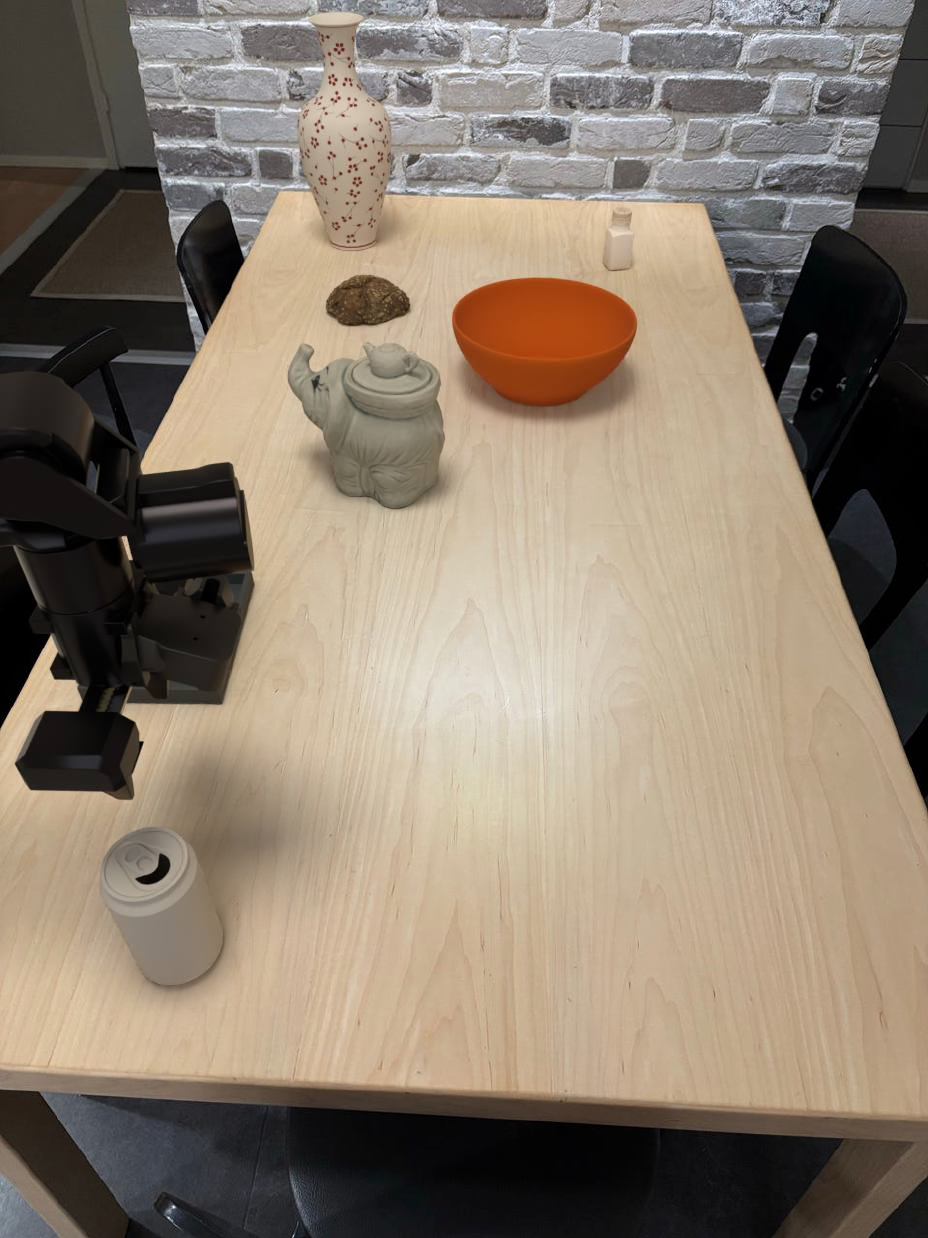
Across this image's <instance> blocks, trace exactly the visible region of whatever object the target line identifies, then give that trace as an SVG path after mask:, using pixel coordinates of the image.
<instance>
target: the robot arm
mask: <svg viewBox="0 0 928 1238" xmlns="http://www.w3.org/2000/svg"><path fill="white" fill-rule="evenodd" d="M142 454H143V453H142V451H141V449H140V448H139V447H137V446H136V445H135V444H133V443H132V442H131V441H129V440H128V439H127V438H125V437H124V436H123V435H121V434H120V433H119V432H118V431H116V430H115V429H113V428H112V427H111V426H110V425H108V424H107V423H106V422H104V421H103V420H102V419H100V418H99V417H97V416H96V415H95V414H94V413H92V411H91V407H90V406H89V405H88V404H87V402H86V401H85V400H84V398H83V397H82V396H81V394H80V393H78V392H77V391H76V390H74V389H73V388H72V387H70V386H69V385H68V384H66V383H65V381H64V380H63V379H62V378H61V377H58V376H55V375H53V374H50V373H46V372H41V371H33V370H29V371H18V372H17V371H16V372H8V373H2V374H1V373H0V548H2V547H10V546H11V547H13V550H14V553H15V555H16V557H17V559H18V562H19V564H20V566H21V569H22V571H23V573H24V575H25V577H26V580H27V582H28V585H29V587H30V589H31V592H32V594H33V597H34V599H35V601H36V603H37V604H36V606H35V607H34V610H33V612H32V614H31V615H30V617H29V619H28V621H27V622H28V624H29V627H30V629H31V631H32V633H33V634H39V635H41V634H42V635H43V634H44V635H45V634H46V635H50V636H51V638H52V640H53V643H54V645H55V648H56V650H57V652H56V653H55V656H54V659H53V661H52V662H51V664H50V667H49V671H50V673H51V675H52V678H53V680H55V681H75V682H76V684H77V686H78V685H81V686H83V687H86V688H88V689H87V692H86V694H85V696H84V699H83V701H82V700H81V703H80V706H79V708H78V710H44V711H43V712H41V714H40V715H38V717H36V718H35V719H34V721H33V723H32V725H31V728H30V729H29V732H28V734H27V736H26V738H25V740H24V742H23V744H22V747H21V749H20V750H19V753H18V755H17V757H16V760H15V762H14V765H15V767H16V769H17V771H18V774H19V775H20V777H21V779H22V781H23V782H24V784H25V785H26V786H27V788H28V790H29V791H40V792H41V791H43V792H45V791H47V792H48V791H49V792H52V791H53V792H87V793H89V792H92V793H93V792H94V793H99V792H100V793H104V794H105V795H108V796H109V797H112V798H114V799H116V800H119V801H133V800H134V799H135V785H134V779H133V774H134V772H135V769H136V766H137V765H138V760H139V758H140V755H141V752H142V749H143V746H144V743H145V741H143V740H140V734H141V733H140V730H139V728H138V725H137V722H136V721H135V720H133V719H131V718H129V717H127V716H125V715H123V713H124V710H125V708H126V705H127V704H128V703H127V700H128V697H129V695H130V692H131V689H132V687H144V688H145V689H146V690H147V691H148V693H149V694H150V695H151V696H152V697H153V698H154V699H167V698H168V695H169V681H173V682H177V683H181V684H185V685H189V686H193V687H196V688H197V689H199V690H201V691H205V692H215V691H218V690H219V689H221V688H222V686H223V685H224V682H225V678H226V675H227V671H228V668H229V664H230V660H231V657H232V653H233V650H234V646H235V643H236V639H237V636H238V632H239V629H240V625H241V614H242V611H241V609H240V608H239V606H240V603H236V602H234V604H233V603H232V600H233V592H232V590H231V587H230V585H229V582H228V580H227V577H226V576H225V575H226V574H233V573H241V572H249V571H252V572H254V571H255V554H254V545H253V539H252V537H253V536H252V530H251V523H250V518H249V511H248V506H247V499H246V495H245V490H244V489H241V486H240V482H239V479H238V477H237V476H236V474H235V468H234V465H233V463H231V462H230V461H224V462H215V463H210V464H205V465H202V466H199V467H196V468H189V469H179V470H170V471H162V472H154V473H153V472H152V473H144V474H143V470H142V468H141V467H142ZM91 462H92V463H94V464H97V471H96V480H95V486H94V487H95V488H94V491H93V490H91V489H90V488H89V487H88V478H89V471H90V466H91V465H90V464H91ZM123 537H126V539H127V543H128V549H129V552H130V556H131V559H129V555H128V553H127V549H126V546H125V542H124V540H123ZM195 578H197V579H196V580H194V581H193V579H195Z"/></svg>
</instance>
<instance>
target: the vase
mask: <svg viewBox="0 0 928 1238" xmlns="http://www.w3.org/2000/svg"><path fill="white" fill-rule="evenodd" d="M363 21H364V16H363V15H362V14H360V13H355V12H348V11H347V12H345V11H330V12H322V13H317V14H314V15H311V16H308V18H307V22H308V23H310V24H311V25H312V26H313V27H314V28H315V31H316V33H317V36H318V40H319V44H320V48H321V52H322V61H323V62H322V63H323V75H322V81H321V85H320V87H319V90H318V91H317V93H316V94H315V95H314V97H313V98H311V99H310V100H308V102H306V103H305V104H304V105H303V106H302V108H301V110H300V112H299V114H298V117H297V144H298V150H299V154H300V161H301V165H302V171H303V176H304V177H305V180H306V182H307V185H308V187H309V190H310V192H311V195H312V197H313V199H314V202H315V204H316V207H317V209H318V212H319V215H320V217H321V219H322V221H323V222H322V223H323V224H324V227H325V229H326V231H327V235H328V237H329V244H330V245H331V246H332V247H333V248H335V249H337V250H342V251H361V250H367V249H369V248H371V247H373V246H375V245H376V243H377V231H378V227H379V223H380V219H381V214H382V211H383V210H382V209H383V206H384V201H385V198H386V193H387V189H388V185H389V180H390V176H391V169H392V166H391V165H392V127H391V121H390V115H389V113H388V111H387V110H386V108H385V107H384V105H383V104H382V103H380V102H379V101H377V100H376V99H375V98H373V97H372V96H370V95H369V94H368V93H367V92H366V91H365V89H364V88H363V86H362V85H361V82H360V79H359V76H358V73H357V69H356V60H355V43H356V34H357V30H358V29H357V28H358V26H359V24H360V23H362V22H363Z"/></svg>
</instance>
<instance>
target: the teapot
mask: <svg viewBox="0 0 928 1238" xmlns="http://www.w3.org/2000/svg"><path fill="white" fill-rule="evenodd" d="M362 347H363V350H364V352H365V353H366V355H365V356H364V357H361V358H358V359H357V360H356V359H353V358H347V357H341V358H336V359H334V360H332V361H331V362H329V363H328V364H326V365H325V367H323V368H322V369H321V370H318V371H314V370H312V368H311V367H310V360H311V358H312V356H314V354H315V349H314V347H313V346H311V345H310V344H307V343H305V342H302V343H301V344H300V345H299V346H298V349H297V351H296V352H295V354H294V356H293V358H292V360H291V361H290V364H289V366H288V370H287V383H288V385H289V387H290V390H291V391H292V393H293V394H294V396H295V397H296V398H297V399H298V400H299V402H301V407H302V410H303V414H304V415H305V417H307V419H308V420H309V421H310V422H311V423H312V424H313V425H314V426H316V427H317V428H318V429H320V430H321V432H322V436H323V441H324V443H325V445H326V447H327V449H328V459H329V461H330V463H331V464H332V467H333V470H334V482H335V485H336V487H337V489H338V490H339V491H340V492H341V493H342V494H344V495H346V496H349V497H364V496H365V497H366V496H367V497H371V498H374V499H375V500H377V501H378V503H379V504H381V505H382V506H385V507H386V508H390V509H398V508H399V509H400V508H405V507H406V506H409V505H411V504H413V503H414V502H415V501H416V500H417V499H419V497H420V496H421V495H422V494H423V493H424V492H425V491H427V490H428V489H430V488H431V487H433V486H434V485H435V484H436V483H437V481H438V478H439V470H440V469H439V467H440V459H441V454H442V452H443V449H444V444H445V442H446V434H445V431H444V417H443V412H442V408H441V407H440V404H439V401H438V399H437V398H438V396H439V393H440V390H441V386H442V381H441V373H440V371H439V370H438V368H437V367H436V366H435V365H434V364H432V362H430V361H428V360H425V359H423V358H420V357H419V355H418V354H417V353H416V352H414V351H408V350H407V349H406V348H405V346H403V345H401V344H398V343H395V342H388V343H383V344H381V345H378V346H375V345H373V344H372V343H370V342H368V341H366V342H364V343H363V345H362Z"/></svg>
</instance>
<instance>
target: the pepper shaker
mask: <svg viewBox="0 0 928 1238" xmlns="http://www.w3.org/2000/svg"><path fill="white" fill-rule="evenodd" d="M632 215H633V210H632V209H631V208H629V207H624V206H618V207H615V208H613V209H612V216H611V226H609V227H608V228H606V230H605V237H604V246H603V254H602V263H603V265H604V266H605V267H606V268H607V269H608V270H610V271H617V270H626V269H630V266H631V260H632V254H633V253H632V252H633V244H634V237H635V233H634V231H633V230H632V228H630V227H631V223H632Z"/></svg>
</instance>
